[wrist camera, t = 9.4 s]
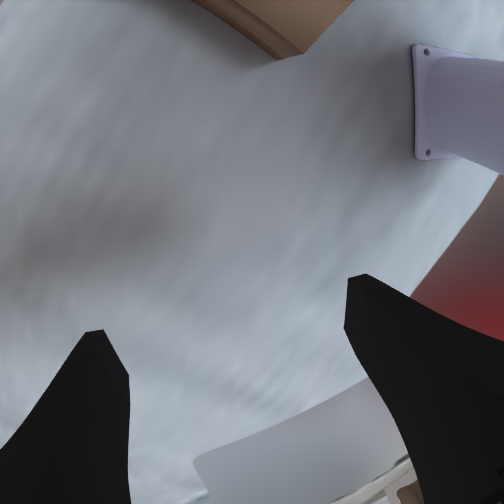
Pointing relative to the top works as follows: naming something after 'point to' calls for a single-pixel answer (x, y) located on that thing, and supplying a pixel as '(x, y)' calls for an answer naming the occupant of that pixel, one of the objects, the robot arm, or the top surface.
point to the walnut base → (278, 21)
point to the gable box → (405, 490)
